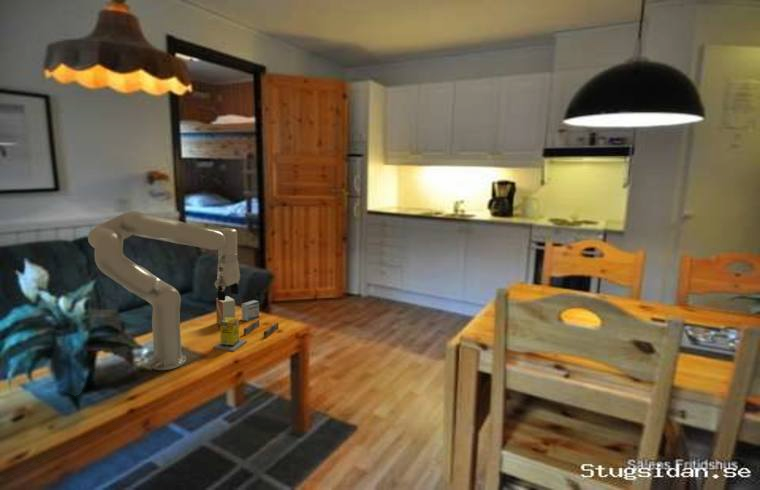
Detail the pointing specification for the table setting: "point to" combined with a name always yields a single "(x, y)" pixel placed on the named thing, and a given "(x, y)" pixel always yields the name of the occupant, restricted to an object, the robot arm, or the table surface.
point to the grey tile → (230, 348)
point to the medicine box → (250, 310)
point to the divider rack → (256, 324)
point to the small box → (225, 308)
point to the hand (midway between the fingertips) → (228, 296)
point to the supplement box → (229, 331)
